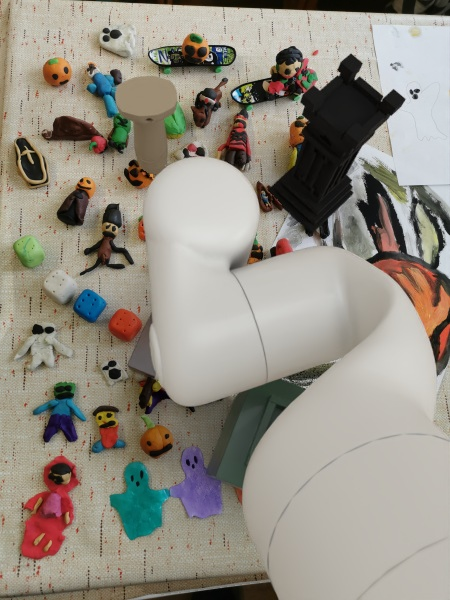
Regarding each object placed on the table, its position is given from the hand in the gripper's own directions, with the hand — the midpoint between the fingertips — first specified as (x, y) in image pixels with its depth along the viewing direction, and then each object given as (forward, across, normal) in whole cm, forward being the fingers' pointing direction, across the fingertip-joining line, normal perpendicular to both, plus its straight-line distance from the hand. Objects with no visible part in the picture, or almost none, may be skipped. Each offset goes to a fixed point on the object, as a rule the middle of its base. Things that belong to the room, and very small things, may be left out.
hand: (193, 322), depth 62 cm
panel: (+5, 0, 0) cm, 5 cm away
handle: (+5, +18, +13) cm, 23 cm away
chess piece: (+5, +23, -7) cm, 25 cm away
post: (+5, -10, -12) cm, 16 cm away
